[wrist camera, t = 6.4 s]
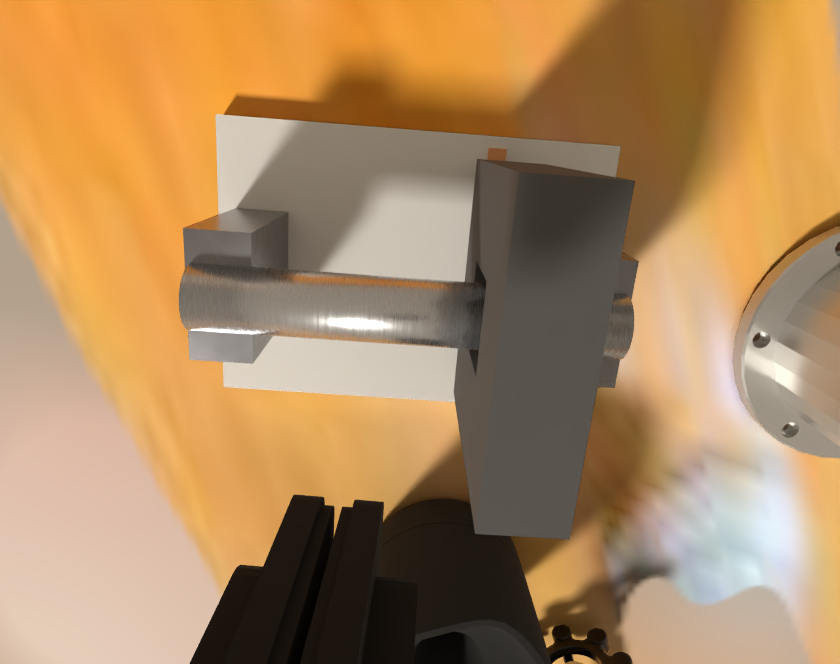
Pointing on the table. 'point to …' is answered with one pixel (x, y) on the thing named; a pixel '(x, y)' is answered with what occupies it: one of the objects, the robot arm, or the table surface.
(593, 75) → the table surface
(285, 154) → the base board
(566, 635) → the valve
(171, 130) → the table surface
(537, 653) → the pen holder
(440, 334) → the pipe
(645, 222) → the table surface
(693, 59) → the table surface
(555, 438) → the collar
